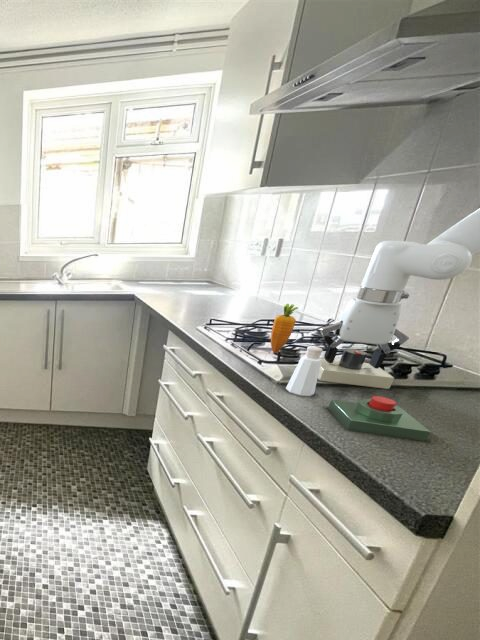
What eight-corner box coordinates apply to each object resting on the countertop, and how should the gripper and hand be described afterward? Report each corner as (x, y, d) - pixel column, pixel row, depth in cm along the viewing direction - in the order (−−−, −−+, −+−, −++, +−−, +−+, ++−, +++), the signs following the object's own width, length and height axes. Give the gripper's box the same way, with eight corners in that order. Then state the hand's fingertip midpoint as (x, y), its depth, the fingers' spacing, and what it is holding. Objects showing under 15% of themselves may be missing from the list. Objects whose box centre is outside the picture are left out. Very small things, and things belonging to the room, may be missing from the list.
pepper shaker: (298, 386, 101) (314, 343, 97) (319, 395, 96) (337, 351, 92) (279, 387, 100) (294, 344, 96) (299, 397, 96) (316, 352, 91)
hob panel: (369, 374, 109) (374, 363, 107) (389, 389, 100) (394, 377, 99) (305, 367, 113) (309, 356, 112) (319, 380, 105) (323, 369, 103)
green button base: (397, 418, 87) (405, 400, 85) (425, 441, 78) (435, 423, 77) (327, 408, 91) (334, 391, 89) (347, 429, 82) (354, 411, 80)
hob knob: (335, 362, 108) (341, 346, 106) (356, 364, 107) (363, 348, 105) (342, 368, 104) (349, 352, 103) (364, 370, 103) (371, 354, 101)
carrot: (266, 349, 127) (282, 300, 121) (286, 353, 123) (303, 303, 117) (262, 353, 123) (278, 303, 117) (282, 357, 120) (299, 306, 114)
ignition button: (387, 405, 84) (390, 397, 83) (396, 413, 81) (400, 405, 80) (364, 402, 85) (368, 395, 84) (373, 410, 82) (376, 402, 81)
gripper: (417, 296, 99) (386, 363, 106) (327, 290, 104) (304, 354, 111) (435, 302, 92) (402, 374, 99) (339, 295, 98) (314, 364, 105)
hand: (350, 363), depth 105 cm, fingers open, 8 cm apart
